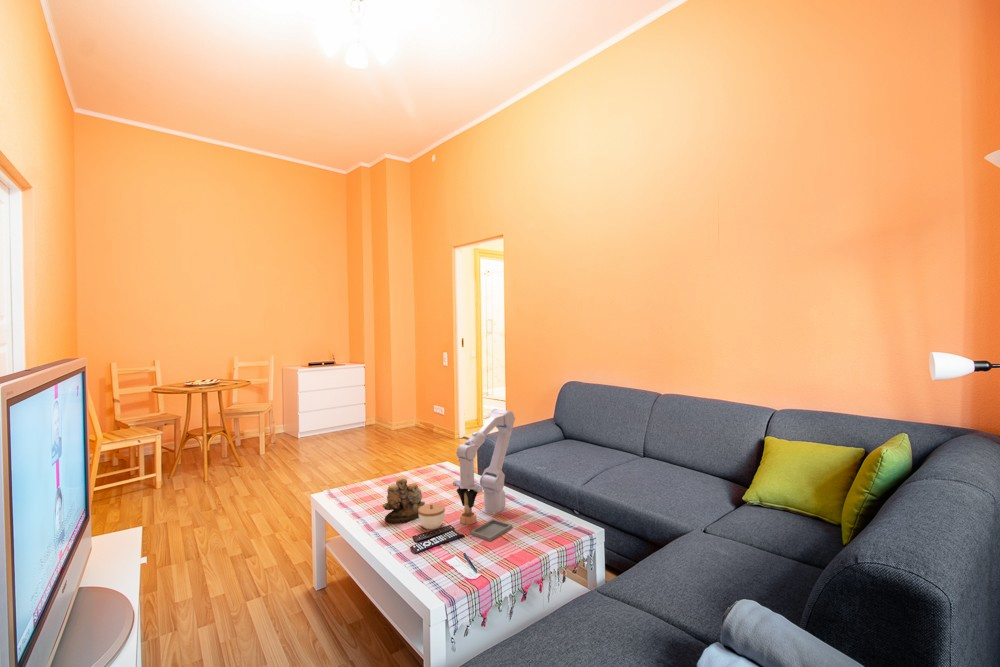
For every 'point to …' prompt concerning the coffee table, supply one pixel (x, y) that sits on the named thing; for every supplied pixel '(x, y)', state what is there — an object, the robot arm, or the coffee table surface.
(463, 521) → the cup
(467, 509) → the dowel
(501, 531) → the tray
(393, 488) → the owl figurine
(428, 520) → the lidded jar
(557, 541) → the coffee table surface
